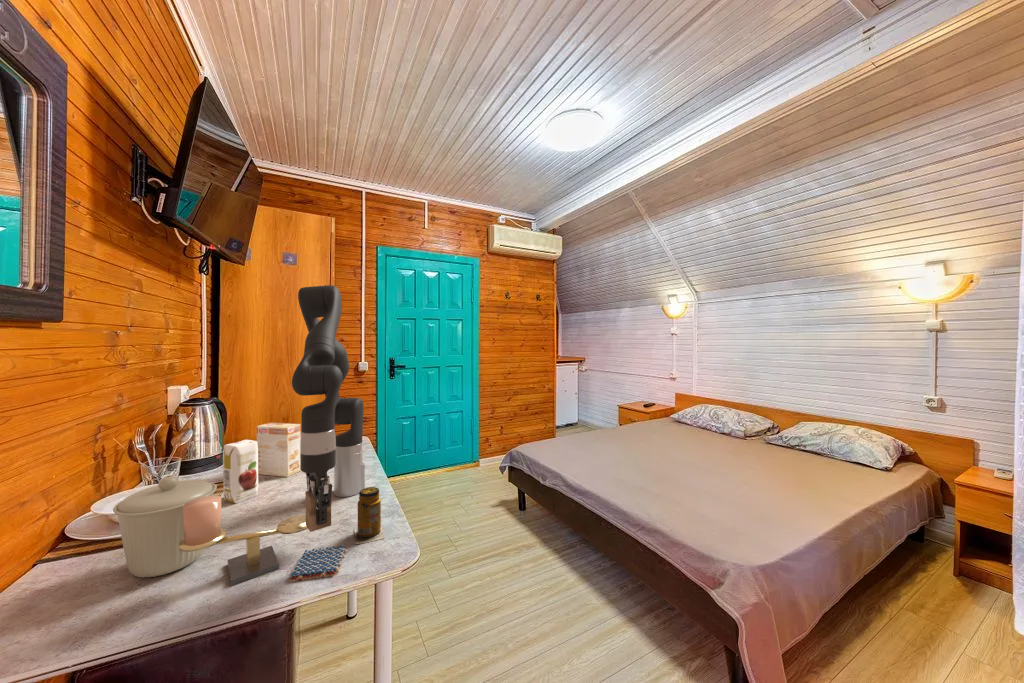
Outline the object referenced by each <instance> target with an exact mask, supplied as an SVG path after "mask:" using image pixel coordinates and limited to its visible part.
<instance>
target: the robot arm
mask: <svg viewBox="0 0 1024 683" xmlns="http://www.w3.org/2000/svg"><path fill="white" fill-rule="evenodd" d="M297 299H298V305H299V308H300V310H301V315H302V317H303V319H304V323H305V326H306V329H307V331H308V334H307V336H306V337H305V341H304V348H303V356H302V357H301V359H300V361H299V364H297V366H296V368H295V370H294V372H293V375H292V378H291V386H292V389H293V391H294V393H296V394H297V395H299V396H302V397H303V396H306V397H307V396H322V395H324V396H325V399H324V400H322V401H320V402H317V403H314V404H310V405H306V406H304V407H303V408H302V410H301V414H300V415H301V416H300V417H301V418H300V420H301V422H300V470H301V471H300V472H302V473H304V474H305V475H306V476H305V477H306V487H307V488H306V491H312V496H313V499H314V500H316V506H315V508H316V524H317V525H322V524H325V523H326V522H327V508H328V507H330V506H331V507H332V494H334V496H336V497H340V498H344V497H345V498H346V497H351V496H356V495H359V492H360V491H361V490H362V489H364V488H366V484H365V481H366V478H365V477H366V476H365V474H366V472H365V471H366V470H365V467H366V466H365V465H366V464H365V463H364V462H363V460H364V459H363V435H364V432H363V431H364V412H365V410H364V409H365V408H364V402H363V399H362V398H361V397H341V396H340V395H339V394H340V389H341V386H342V384H343V382H344V381H345V380H346V378H347V376H348V374H349V370H350V360H349V357H348V352H347V349H346V348H345V346H344V344H342V343H341V342H340V341H339V340H338V339H337V338H336V337H337V331H338V329H339V324H340V319H341V317H342V310H343V301H342V300H343V299H342V294H341V291H340V290H339V288H338V287H337V286H335V285H331V284H330V285H315V286H314V285H312V286H305V287H304V286H303V287H300V288H299V289H298V293H297ZM319 318H321V319H319ZM335 425H337V426H338V425H350V428H349V429H348V430H346V431H345V432H341V433H339V434H337V435H336V431H335V428H336V427H335ZM332 469H333V484H332V483H330V482H331V481H330V475H328V472H329V470H332ZM333 487H334V488H333ZM333 490H334V491H333ZM332 491H333V492H334V493H332ZM318 493H319V495H316V494H318ZM324 500H325V502H324V503H322V501H324Z"/></svg>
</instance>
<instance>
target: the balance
mask: <svg viewBox="0 0 1024 683" xmlns="http://www.w3.org/2000/svg"><path fill="white" fill-rule="evenodd" d="M307 529H308V528H307V526H306V514H301V515H300V514H299V515H295V516H290V517H288V518H286V519H284V520H282V521H280V522H279V523H278V524H277V526H276V528H273V529H268V530H261V531H255V532H249V533H242V534H237V535H236V534H235V535H232V536H227V531H226V529H225V528H222V534H221V535H220V536H219V537H218V538H216V539H214V540H212V541H210V542H207V543H204V544H201V545H195V546H187V545H185V544H184V539H183V540H181V541H180V543H179V550H180V551H183V552H192V551H198V550H202V549H204V550H205V549H208V548H210V547H213V546H216V545H220V544H222V545H223V544H228V543H233V542H239V541H244V540H245V551H246V552H245V554H240V555H238V556H235V557H231V558H229V559H227V569H228V576H229V581H230V586H232V587H233V586H235V585H237V584H241V583H242V582H243V583H244V582H245V581H249V580H251V579H255V578H257V577H259V576H262V575H265V574H268V573H270V572H273V571H277V570H279V569H280V562H279V560H278V558H277V555H276V552H275V550H274V548H273V545H270V546H266V547H264V548H261V546H260V544H261V542H260V539H261V537H262V538H263V537H268V536H273V535H278V534H279V535H280V534H281V535H291V534H292V535H293V534H297V533H301V532H303V531H305V530H307ZM308 530H309V529H308Z"/></svg>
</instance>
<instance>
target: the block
mask: <svg viewBox="0 0 1024 683" xmlns="http://www.w3.org/2000/svg"><path fill="white" fill-rule="evenodd" d="M316 495H319V493H318V494H316ZM324 502H325V500H324V501H322V503H324ZM315 506H316V500H314V499H313V496H312V491H307V490H306V491H305V515H306V526H307V528H308V531H309V532H310V533H311V532H315V531H319V530H322V529H325V528H328V527H331V526H332V505H331V506H330V507H328V508H327V522H326V523H325V524H322V525H317V524H316V508H315Z"/></svg>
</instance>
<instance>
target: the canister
mask: <svg viewBox="0 0 1024 683" xmlns="http://www.w3.org/2000/svg"><path fill="white" fill-rule="evenodd" d="M216 491H217V485H216V483H214V482H210V481H208V480H207V481H206V480H203V479H201V480H200V479H186V480H185V479H184V480H183V479H182V480H179V478H178V477H176V476H172V475H171V476H165V477H162V478H161V479H160V480H159V481H158V483H157V485H154V486H150V487H148V488H145V489H144V488H143V489H141V490H139V491H137V492H135V493H133V494H130V495H129V496H127V497H126V498H124V499H123V500H121V501H120V502H117V504H115V505H114V507H113V509H112V512H113V513H114V514H115V515H116V516H117V519H118V524H119V531H120V536H121V542H122V548H123V551H124V557H125V562H126V565H127V569H128V571H129V572H130V574H132V575H133V576H135V577H137V578H138V577H139V578H155V577H160V576H163V575H164V576H165V575H167V574H171V573H173V572H176V571H178V570H180V569H183V568H185V567H187V566H188V565H190V564H192V563H193V562H195V561H196V560H197V559H198V558H199V557H201V555H202V554H203V552H204V551H205V549H202V550H198V551H192V552H183V551H180V550H179V543H180V541H181V540H183V539H184V515H183V506H184V504H186V503H187V502H189V501H191V500H194V499H197V498H201V497H205V496H214V493H215V492H216Z"/></svg>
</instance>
